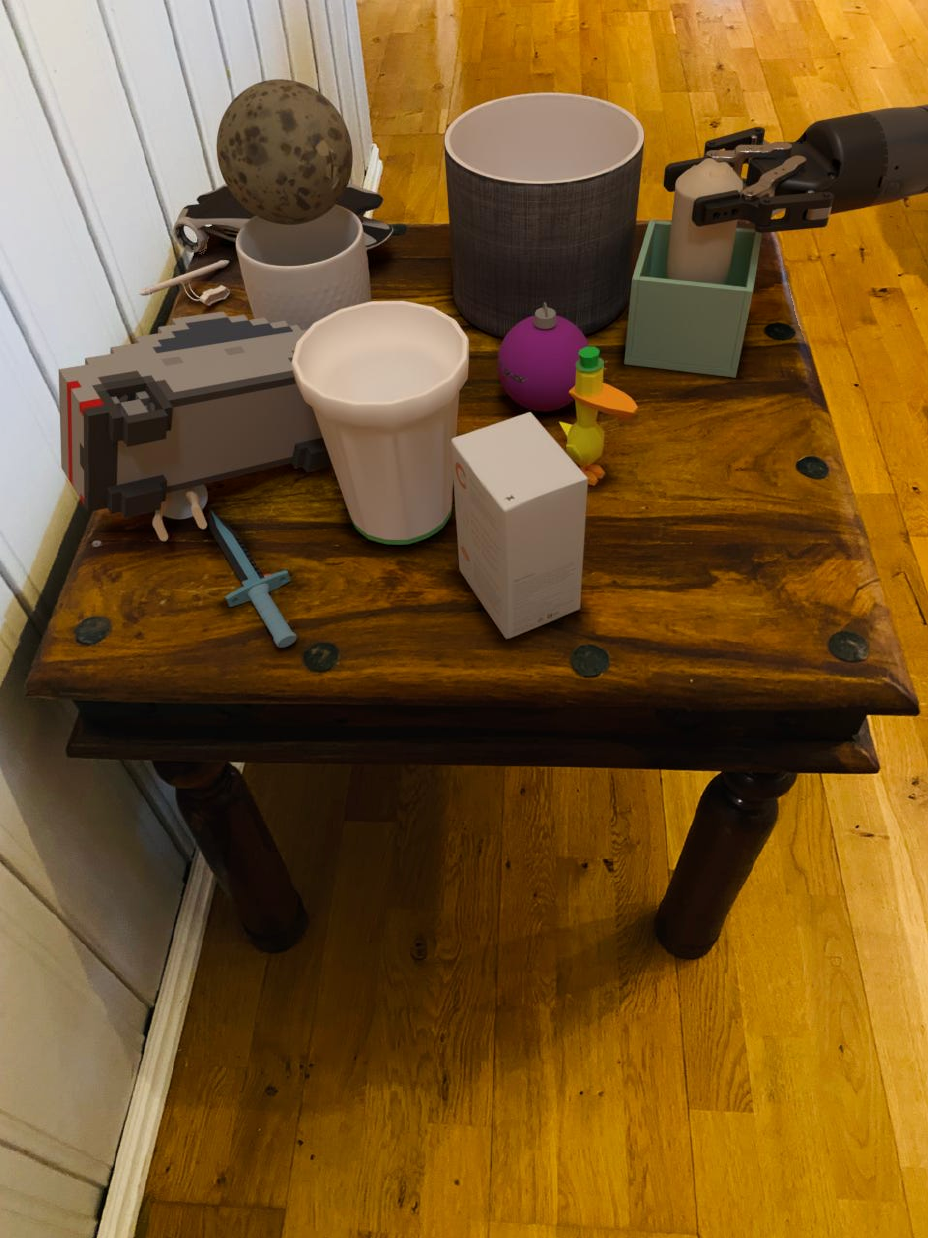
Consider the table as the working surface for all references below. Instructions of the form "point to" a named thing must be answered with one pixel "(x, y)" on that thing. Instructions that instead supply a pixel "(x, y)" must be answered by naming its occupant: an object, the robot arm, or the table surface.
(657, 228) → the waste bin
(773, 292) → the table surface
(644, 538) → the table surface
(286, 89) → the decorative egg
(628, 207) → the planter
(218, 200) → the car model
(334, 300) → the mug
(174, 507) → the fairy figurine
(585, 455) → the toy figure
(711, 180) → the candle
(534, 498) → the small box
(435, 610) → the table surface
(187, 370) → the toy car
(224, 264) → the picture light
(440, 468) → the cup
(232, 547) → the knife
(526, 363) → the christmas ornament
